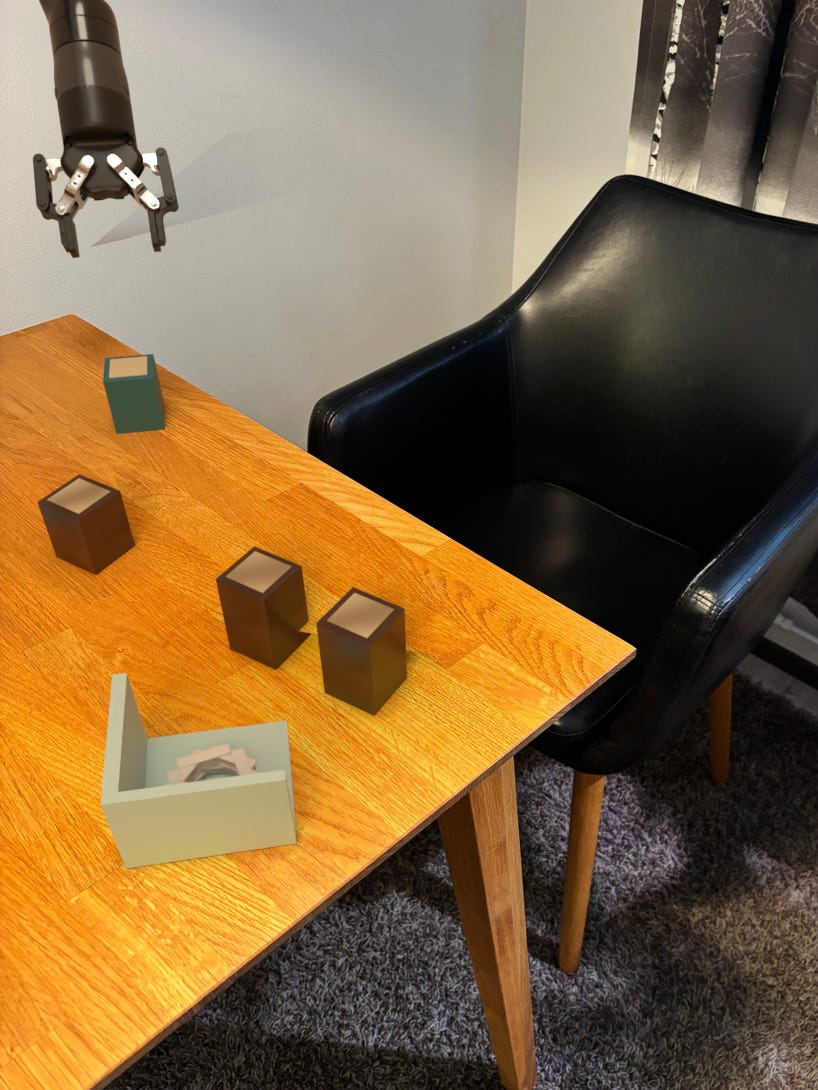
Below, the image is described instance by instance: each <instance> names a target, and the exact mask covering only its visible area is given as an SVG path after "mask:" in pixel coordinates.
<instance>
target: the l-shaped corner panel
mask: <svg viewBox="0 0 818 1090" xmlns="http://www.w3.org/2000/svg"><path fill="white" fill-rule="evenodd" d="M109 695H110V696H109V705H108V718H107V729H106V740H105V750H104V751H105V752H104V764H103V773H102V774H103V775H102V786H101V797H100V807H101V810H102V812H103V815H104V817H105V820H106V823H107V825H108V827H109V830H110V832H111V834H112V837H113V840H114V842H115V845H116V848H117V850H118V853H119V855H120V858H121V861H122V863H123V865H124V868H125V869H133V868H139V867H146V866H153V865H160V864H166V863H174V862H181V861H187V860H194V859H200V858H201V859H202V858H206V857H207V858H208V857H215V856H222V855H228V854H234V853H243V852H249V851H254V850H262V849H269V848H275V847H282V846H288V845H289V846H290V845H295V844H298V843H297V841H298V840H297V830H296V829H297V828H296V817H295V816H296V815H295V803H294V791H293V778H292V766H291V754H290V740H289V728H288V720H280V721H274V722H265V723H257V724H250V725H241V726H234V727H224V728H219V729H209V730H204V731H203V730H201V731H195V732H186V733H178V734H172V735H163V736H156V737H148V734H147V732H146V729H145V725H144V723H143V719H142V716H141V713H140V709H139V706H138V703H137V700H136V697H135V694H134V690H133V688H132V685H131V681H130V678H129V675H128V673H127V672H123V673H115V674H114V673H113V674H111V686H110V694H109Z"/></svg>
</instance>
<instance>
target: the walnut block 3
mask: <svg viewBox="0 0 818 1090" xmlns="http://www.w3.org/2000/svg"><path fill="white" fill-rule="evenodd" d="M315 624H316V633H317V640H318V649H319V656H320V658H319V659H320V665H321V674H322V682H323V691H324V694H327V695H329V696H331V697H334V698H335V699H337V700H340V701H342V702H344V703H346V704H349V705H350V706H353V707H355V708H357V709H360V710H361V711H363V712H366V713H368V714H370V715H372V716H375V715H376V714H378V712H379V711H380V710H381V708H382V707H383V706H384V705H385V704H386V703H387V702H388V700H389V699H390V698H391V697H392V696H393V695H394V694H395V692H396V691H397V690H398V689H399V688H400V687H401V685H402V684H403V683H404V682H405V681H406V680H407V678H408V665H407V663H408V662H407V639H406V637H407V636H406V633H407V632H406V610H405V608H404V607H402V606H400V605H398V604H395V603H392V602H391V601H388V600H385V599H383V598H380V597H378V596H376V595H373V594H371V593H368V592H366V591H364V590H362V589H358V588H356V587H354V586H352V587H351V589H349V590H348V591H347V592H346V593H345V594H344V595H343V596H342V597H341V598H340V599H339V600H338V601H337V602H335V604H334V605H333V606H331V608H330V609H329V610H328V611H326V613H325V614H324V615H323V616H321V618H320V619H318V621H317V622H316V623H315Z"/></svg>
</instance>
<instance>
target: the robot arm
mask: <svg viewBox="0 0 818 1090" xmlns="http://www.w3.org/2000/svg"><path fill="white" fill-rule="evenodd" d="M38 2H39V5H40V7H41V9H42V11H43V13H44V16H45V19H46V21H47V23H48V29H49V37H50V44H51V50H52V51H51V52H52V58H53V85H54V97H55V100H56V104H57V112H58V118H59V125H60V132H61V140H62V146H63V150H62V155H61V157H56V158H55V157H54V158H53V157H52V158H51V157H45V156H44V154H42V153H35V154H34V155H33V156H32V166H33V178H34V179H33V180H34V191H35V204H36V207H37V209H38V210H39V211H40V214H41V216H42V217H43V219H45V220H46V221H47V220H48V221H50V220H52V221H53V220H54V221H55V222H58V229H59V230H58V231H59V236H60V244H61V245H62V247H63V248H64V250H65V252H66V253H69V254H70V256H71V257H72V259H75V258H80V257H81V256H80V249H79V243H78V235H77V228H76V224H75V221H74V219H75V217H76V216H77V214H78V213H79V211H80V210H82V209H83V208H84V207H85V206H86V203H87V202H88V201H89V199H93V201H95V202H97V201H104V200H107V199H112V200H125V197H128V196H130V197H131V198H132V199H133V200H134V201H135V202H136V203H137V204H138V205H139V206H140V207H142V208H143V209H144V210H145V211H146V212H147V218H148V223H149V224H148V225H149V232H150V239H151V245H152V249H153V252H154V253H161V252H162V247H166V243H167V237H166V236H167V235H166V230H165V223H164V217H165V215H166V214H168V213H175V212H177V211H178V210H179V207H180V206H179V202H178V197H177V192H176V191H177V190H176V187H175V186H176V185H175V182H174V178H173V177H174V176H173V172H172V168H171V163H170V159H169V155H168V151H167V150H166V148H164V147H162V146H161V147H157V148H156V149H155V152H151V153H150V152H149V153H143V154H142V153H141V152H140V150H139V149H138V142H137V135H136V128H135V122H134V121H135V120H134V114H133V107H132V101H131V100H132V99H131V92H130V86H129V85H130V84H129V81H128V77H127V76H128V75H127V73H126V69H125V66H124V61H123V56H122V55H123V54H122V48H121V47H122V46H121V40H120V33H119V26H118V22H117V18H116V15H115V11H113V8H112V7H111V5H109V4H110V3H108V1H106V0H38ZM145 168H148V169H150V170H151V173H152V174H153V175H154V176H156V177H158V176H159V177H160V182H161V187H162V192H163V195H162V196H159V197H157V198H156V196H155V195H154V194H153V193H152V192H151V191H150V190H149V189H148V188H147V187H146V185H145V184H144V182H142V180H141V179H140V178H141V176H142V174H143V172H144V170H145ZM60 172H64V174H65V175H66V176H67V177H68V178H69V180H68V182H67V184H66V185H65V187H64V189H63V193H62V195H61V197H60V198H59V200H58V202H57V203H54V197H53V184H52V182H55V181H56V180H58V175H59V173H60Z"/></svg>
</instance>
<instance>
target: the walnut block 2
mask: <svg viewBox="0 0 818 1090" xmlns="http://www.w3.org/2000/svg"><path fill="white" fill-rule="evenodd" d="M215 583H216V587H217V592H218V597H219V602H220V607H221V611H222V617H223V622H224V628H225V631H226V636H227V641H228V644H229V645H228V646H229V648H230V650H232V651H235V652H237V653H239V654H241V655H243V656H245V657H248V658H250V659H252V660H254V661H256V662H258V663H260V664H263V665H265V666H266V667H269V668H271V669H273V670H277V669H278V668H280V666H281V665H282V664H283V663H284V662H285V661H287V659H288V658H289V657H290V656H291V655H292V654H293V653H294V652H295V651H296V650H297V649H298V648H299V647H300V646H301V645H302V644H304V642H305V641H306V640H307V639H308V638H309V637H310V636H311V633H310V632H306V631H301V630H302V629H303V628H304V626H306V625H307V623H309V621H310V620H309V612H308V604H307V596H306V590H305V589H306V588H305V580H304V572H303V567H302V565H301V564H298V563H296V562H293V561H291V560H289V559H286V558H284V557H281V556H279V555H276V554H275V553H271V552H269V551H267V550H264V549H262V548H260V547H257V546H252V547H251V548H250V549H249V550H248V551H247V552H246V553H244V554H243V555H242V556H241V557H240V558H239V559H237V560H236V561H235V562H233V564H232V565H230V566H229V567H228V568H226V570H225V571H223V572H222V573H221V574H220V575H218V576H217V577H216V578H215Z"/></svg>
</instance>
